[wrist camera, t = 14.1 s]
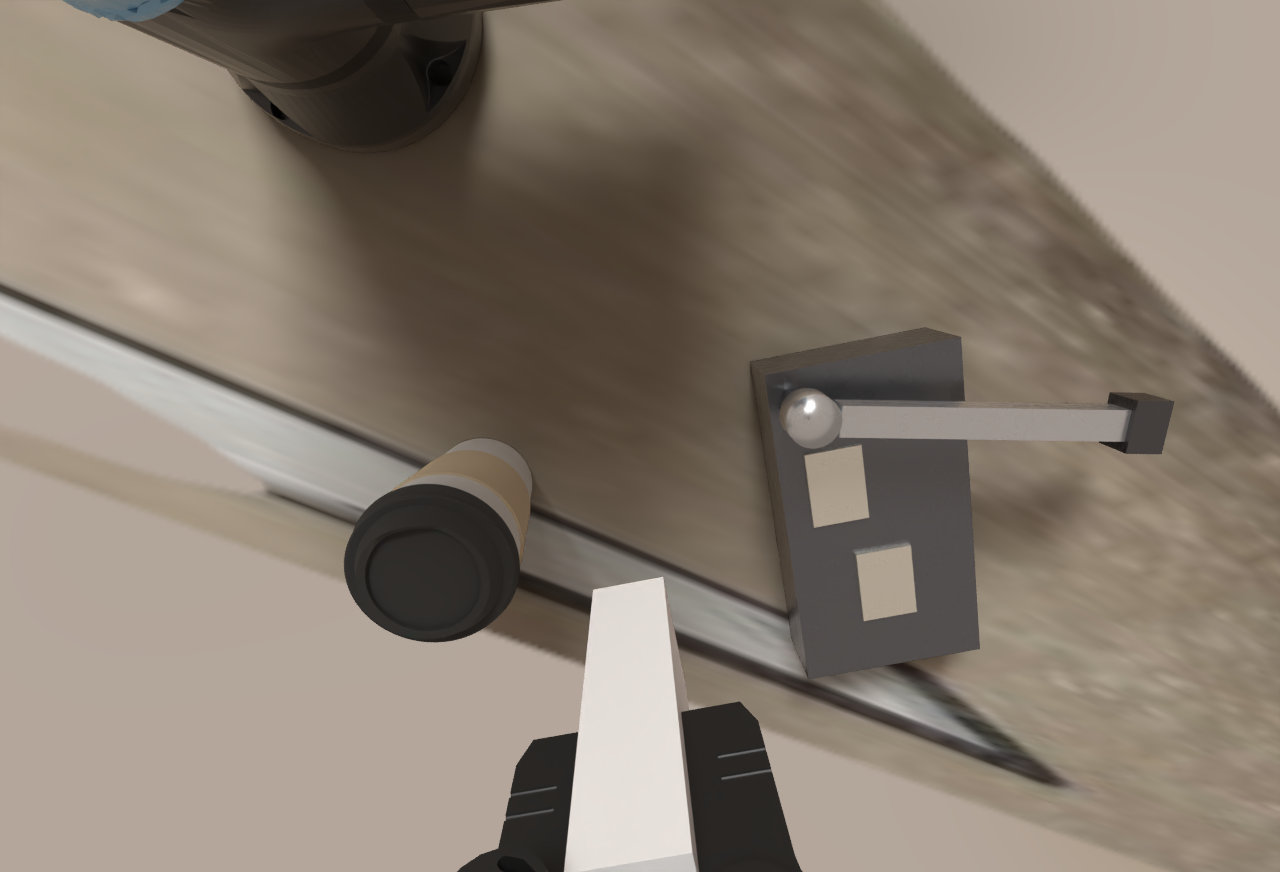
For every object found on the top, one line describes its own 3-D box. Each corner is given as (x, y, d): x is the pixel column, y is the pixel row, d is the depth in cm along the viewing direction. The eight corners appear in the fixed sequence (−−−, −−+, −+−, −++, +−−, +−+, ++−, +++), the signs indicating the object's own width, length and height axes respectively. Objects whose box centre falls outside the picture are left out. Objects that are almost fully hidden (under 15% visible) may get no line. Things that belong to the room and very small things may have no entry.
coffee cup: (561, 527, 48) (532, 646, 34) (441, 552, 49) (363, 680, 34) (528, 410, 46) (483, 484, 31) (403, 437, 46) (301, 523, 32)
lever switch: (750, 361, 45) (774, 384, 38) (925, 327, 45) (985, 343, 37) (792, 642, 51) (820, 711, 44) (946, 615, 51) (1002, 679, 43)
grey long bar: (777, 437, 38) (785, 448, 36) (781, 386, 38) (790, 395, 36) (1132, 442, 39) (1161, 454, 37) (1144, 393, 38) (1174, 401, 36)
